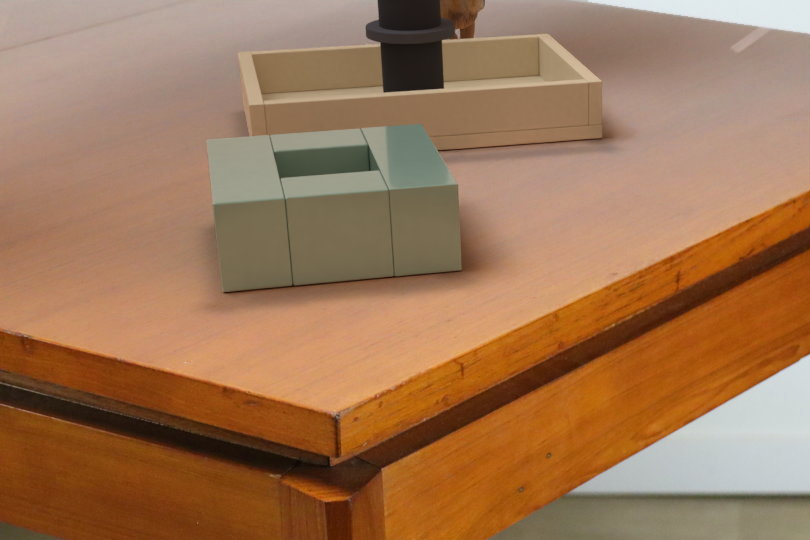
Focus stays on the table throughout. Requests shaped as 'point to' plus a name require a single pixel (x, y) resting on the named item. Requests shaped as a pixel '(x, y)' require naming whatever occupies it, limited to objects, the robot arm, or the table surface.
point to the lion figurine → (462, 15)
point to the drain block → (332, 207)
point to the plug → (410, 43)
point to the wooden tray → (428, 93)
